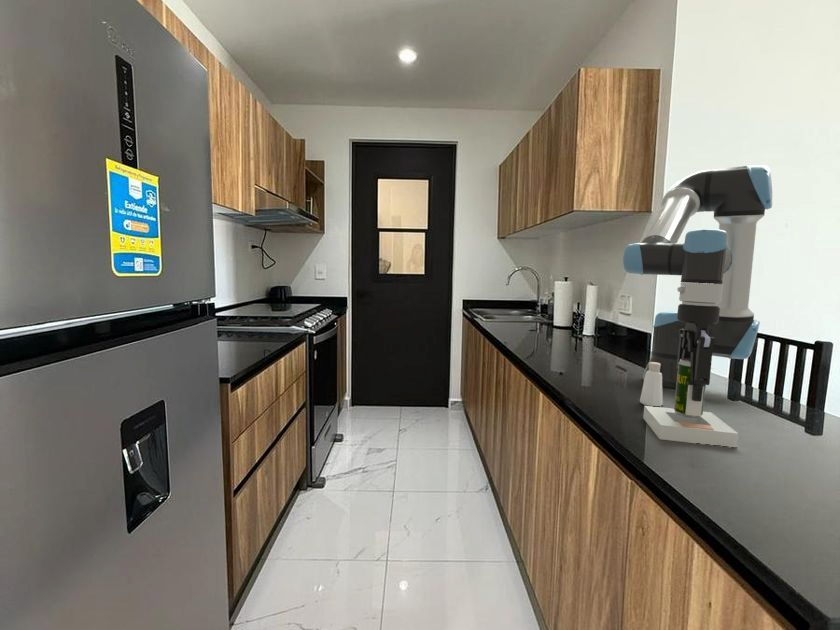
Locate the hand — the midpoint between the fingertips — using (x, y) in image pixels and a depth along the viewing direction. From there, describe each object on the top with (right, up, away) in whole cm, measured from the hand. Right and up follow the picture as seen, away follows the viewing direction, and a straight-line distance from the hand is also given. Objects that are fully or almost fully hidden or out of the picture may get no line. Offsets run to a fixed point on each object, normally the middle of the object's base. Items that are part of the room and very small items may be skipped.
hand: (688, 410), depth 96 cm
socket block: (0, -5, 0) cm, 5 cm away
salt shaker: (+3, -3, +21) cm, 22 cm away
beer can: (0, -1, 0) cm, 1 cm away
